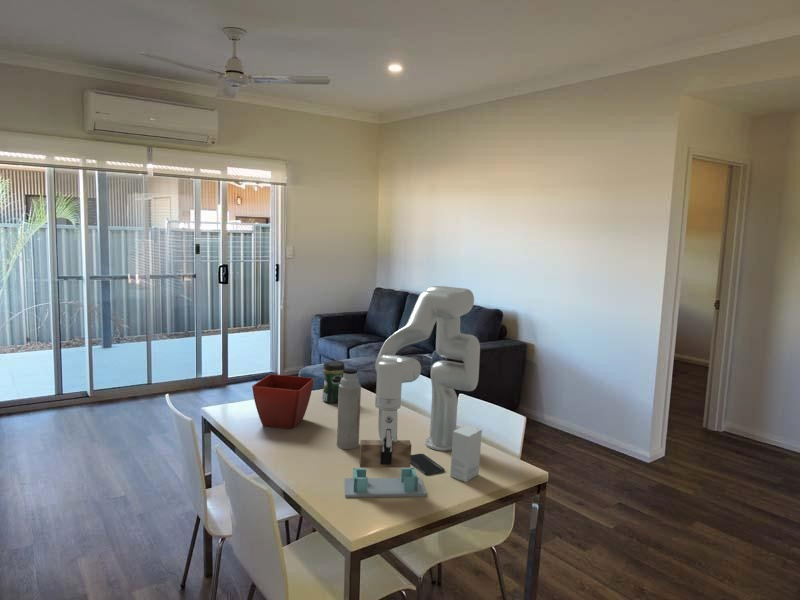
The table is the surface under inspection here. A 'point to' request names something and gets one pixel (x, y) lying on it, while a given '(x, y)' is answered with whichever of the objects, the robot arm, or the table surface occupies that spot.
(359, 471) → the rail
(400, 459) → the brown wooden block
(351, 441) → the thermos bottle
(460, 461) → the skincare box
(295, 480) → the table surface
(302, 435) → the table surface
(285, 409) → the plant pot
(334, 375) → the coffee jar
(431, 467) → the phone
